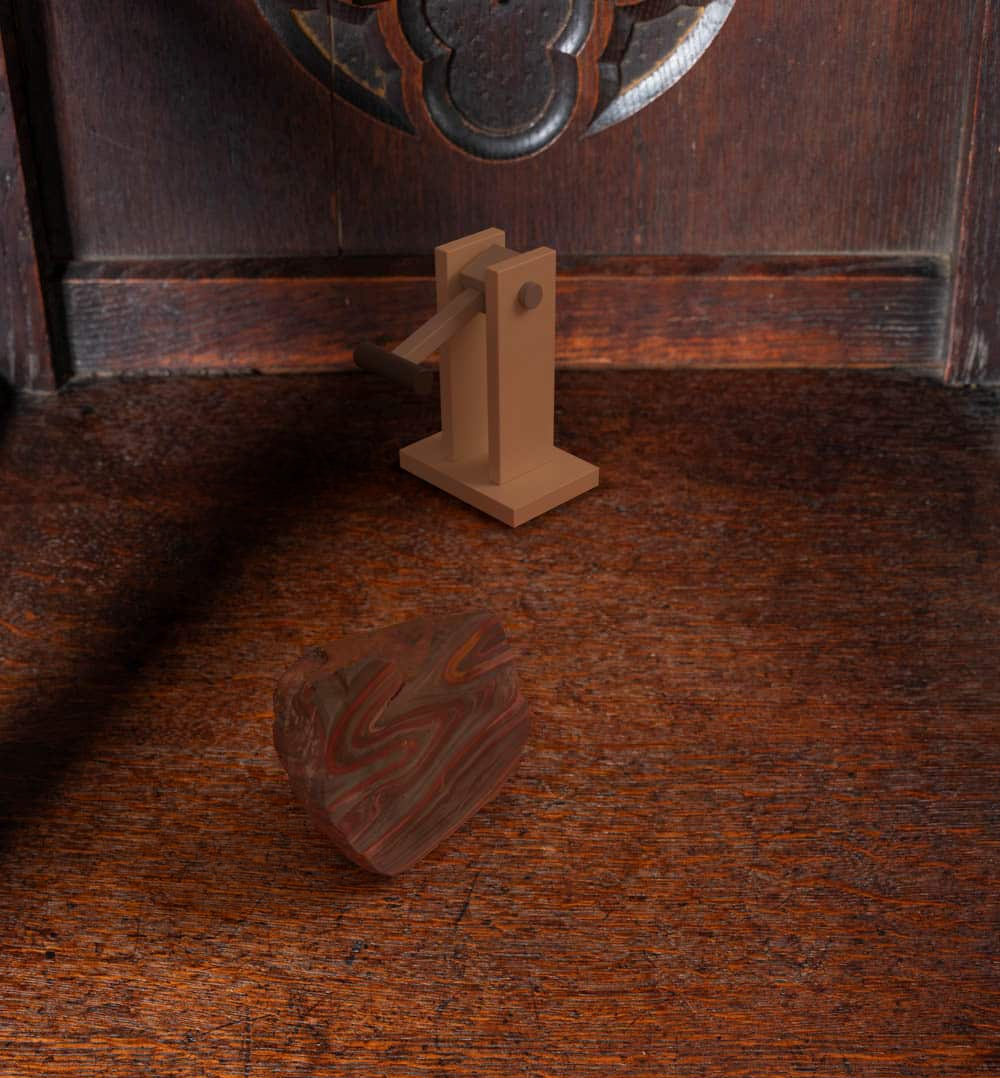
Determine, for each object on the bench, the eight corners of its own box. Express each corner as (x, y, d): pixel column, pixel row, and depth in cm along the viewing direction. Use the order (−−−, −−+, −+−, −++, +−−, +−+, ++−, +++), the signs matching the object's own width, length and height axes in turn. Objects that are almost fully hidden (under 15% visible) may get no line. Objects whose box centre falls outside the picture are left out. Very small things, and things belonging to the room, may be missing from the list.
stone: (360, 932, 58) (339, 740, 51) (213, 845, 62) (176, 657, 55) (543, 768, 65) (545, 584, 59) (402, 701, 69) (389, 521, 63)
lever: (420, 408, 76) (407, 373, 74) (360, 379, 78) (346, 344, 77) (549, 297, 79) (539, 260, 77) (487, 272, 81) (476, 236, 80)
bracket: (513, 528, 82) (512, 292, 73) (400, 467, 87) (385, 241, 78) (598, 485, 85) (607, 255, 77) (484, 429, 91) (479, 209, 82)
